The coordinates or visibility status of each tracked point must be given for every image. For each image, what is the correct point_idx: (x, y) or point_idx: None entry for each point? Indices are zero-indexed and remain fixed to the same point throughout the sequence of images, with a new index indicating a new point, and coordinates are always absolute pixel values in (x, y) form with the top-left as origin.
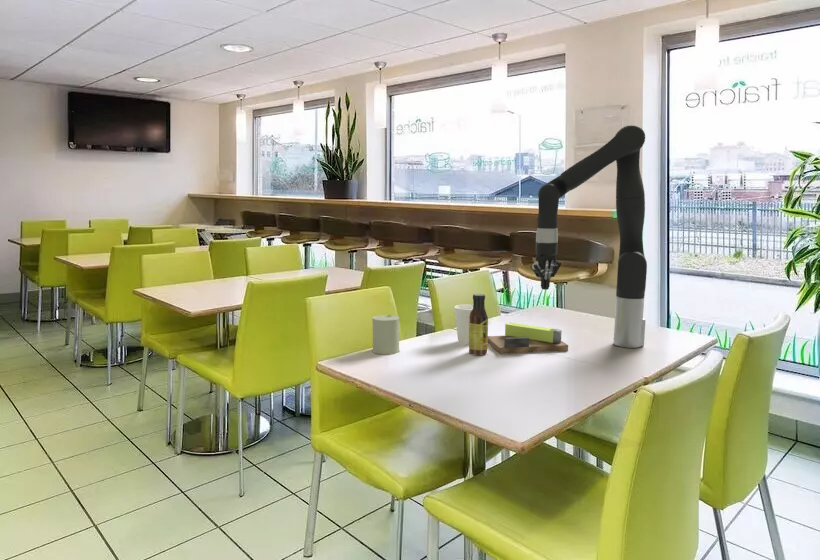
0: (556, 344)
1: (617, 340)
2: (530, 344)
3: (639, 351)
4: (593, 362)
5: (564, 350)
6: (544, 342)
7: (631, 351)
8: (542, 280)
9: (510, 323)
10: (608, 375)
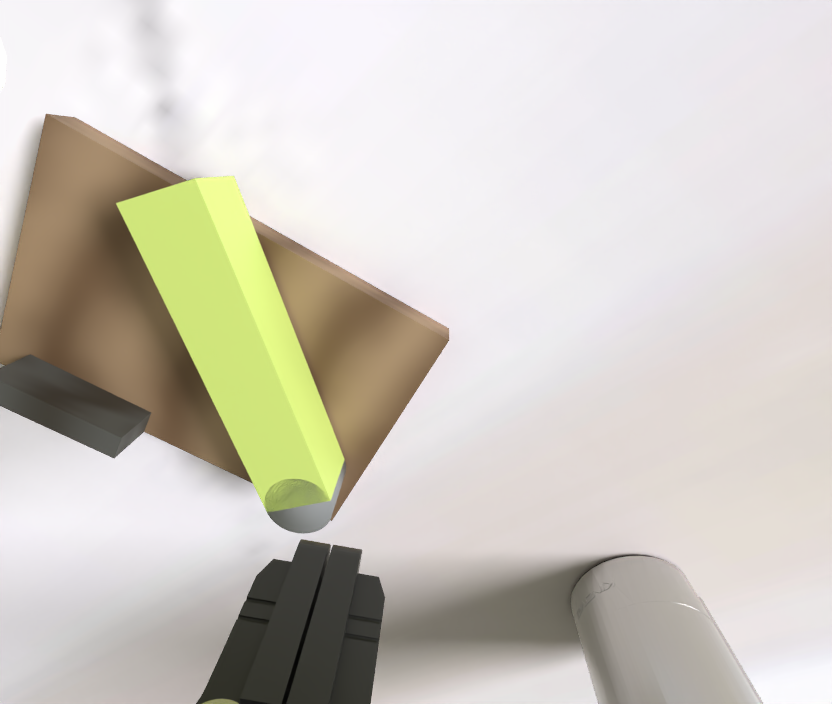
0: None
1: (581, 606)
2: (180, 411)
3: (560, 654)
4: None
5: None
6: None
7: (537, 639)
8: (223, 697)
9: (170, 208)
10: None
